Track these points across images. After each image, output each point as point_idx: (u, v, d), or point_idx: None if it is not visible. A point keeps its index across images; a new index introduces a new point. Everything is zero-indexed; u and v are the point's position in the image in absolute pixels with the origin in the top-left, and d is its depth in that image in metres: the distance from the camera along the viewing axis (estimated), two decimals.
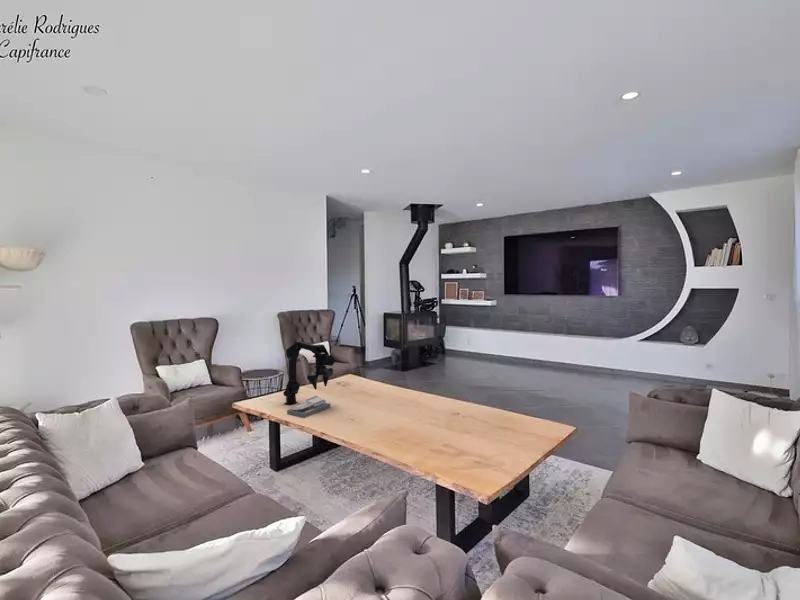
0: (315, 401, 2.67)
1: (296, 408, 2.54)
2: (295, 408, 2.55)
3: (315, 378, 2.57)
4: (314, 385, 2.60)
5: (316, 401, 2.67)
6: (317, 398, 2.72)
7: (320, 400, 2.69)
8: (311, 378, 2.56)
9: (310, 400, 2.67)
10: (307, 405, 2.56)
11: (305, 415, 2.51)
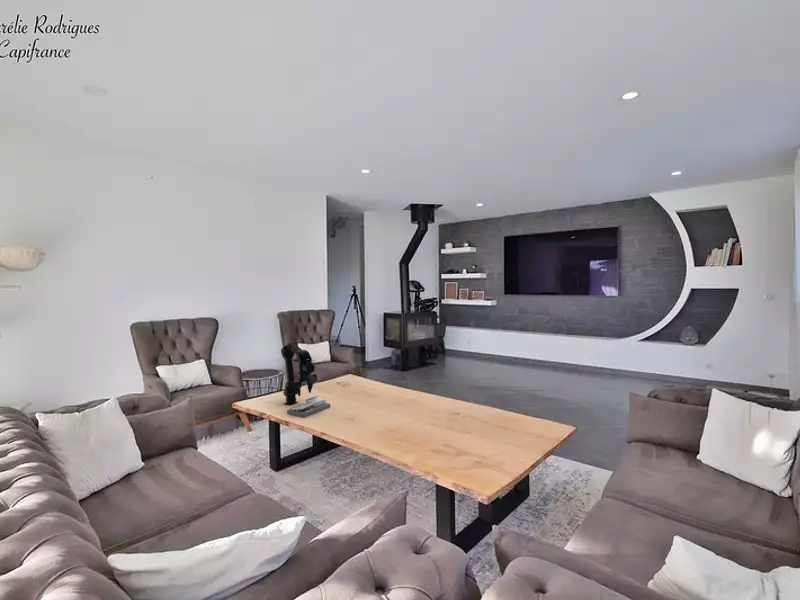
0: (315, 401, 2.67)
1: (296, 408, 2.54)
2: (295, 408, 2.55)
3: (299, 384, 2.54)
4: (298, 392, 2.57)
5: (316, 401, 2.67)
6: (317, 398, 2.72)
7: (320, 400, 2.69)
8: (295, 385, 2.53)
9: (310, 400, 2.67)
10: (307, 405, 2.56)
11: (305, 415, 2.51)
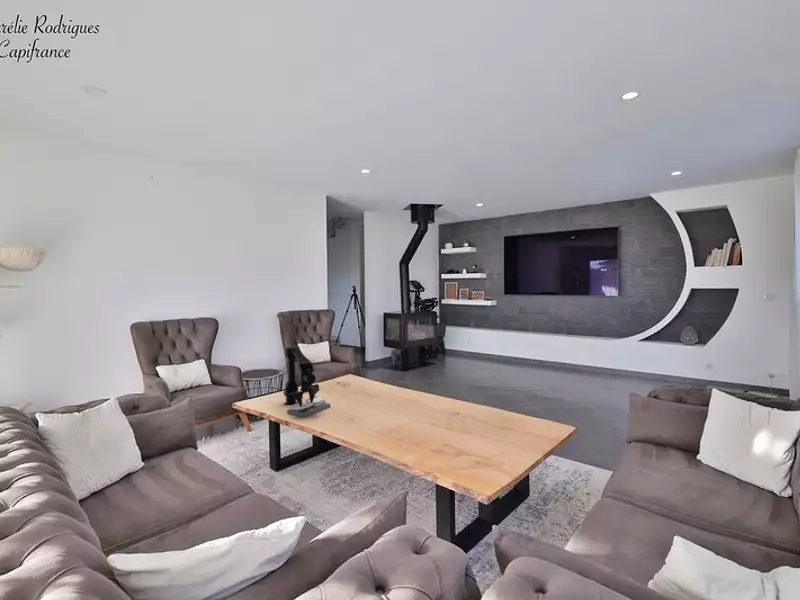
0: (315, 401, 2.67)
1: (296, 408, 2.54)
2: (295, 408, 2.55)
3: (300, 395, 2.48)
4: (299, 402, 2.52)
5: (316, 401, 2.67)
6: (317, 398, 2.72)
7: (320, 400, 2.69)
8: (296, 395, 2.48)
9: None
10: (307, 405, 2.56)
11: (305, 415, 2.51)
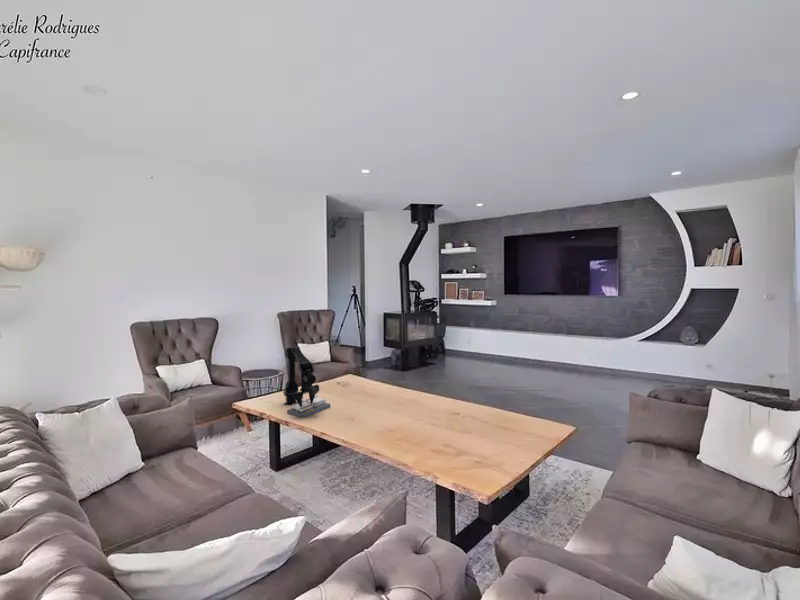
0: (315, 401, 2.67)
1: (296, 408, 2.54)
2: (295, 407, 2.55)
3: (300, 396, 2.48)
4: (299, 403, 2.52)
5: (316, 401, 2.67)
6: (317, 398, 2.72)
7: (320, 400, 2.69)
8: (296, 396, 2.48)
9: None
10: (307, 408, 2.57)
11: (305, 415, 2.51)
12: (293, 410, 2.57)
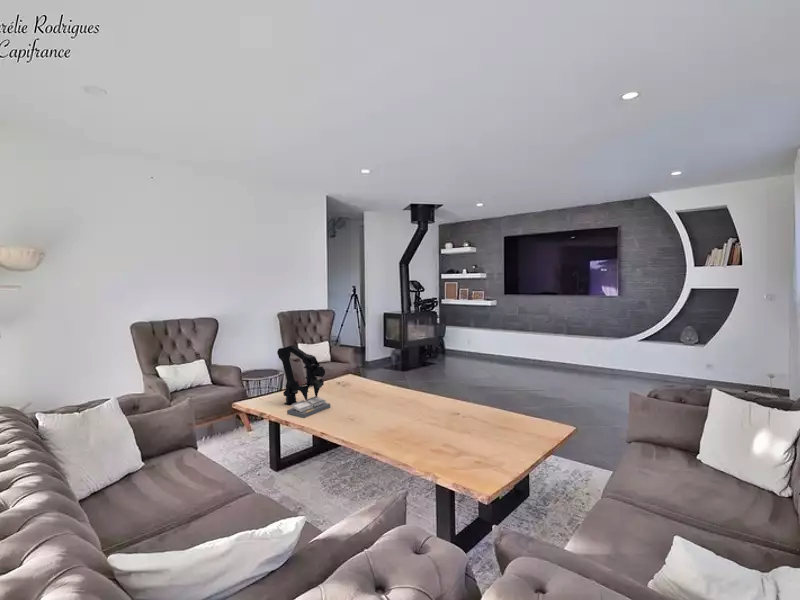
0: (315, 401, 2.67)
1: (296, 408, 2.54)
2: (295, 407, 2.55)
3: (306, 389, 2.62)
4: (305, 396, 2.66)
5: (316, 401, 2.67)
6: (317, 398, 2.72)
7: (320, 400, 2.69)
8: (302, 389, 2.62)
9: (310, 400, 2.67)
10: (307, 408, 2.57)
11: (305, 415, 2.51)
12: (293, 410, 2.57)
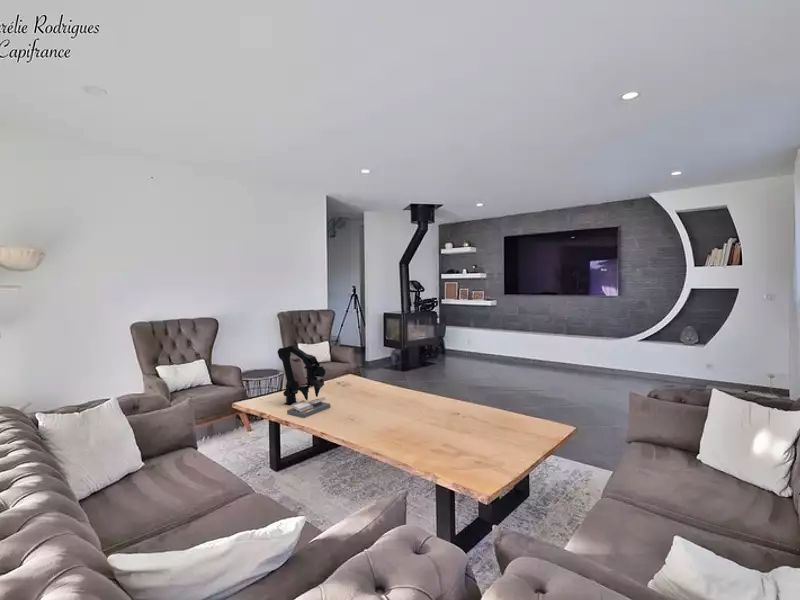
0: (314, 400, 2.67)
1: (296, 408, 2.54)
2: (295, 407, 2.55)
3: (306, 389, 2.62)
4: (305, 396, 2.66)
5: (315, 400, 2.67)
6: (317, 399, 2.72)
7: (319, 398, 2.70)
8: (302, 389, 2.62)
9: (310, 401, 2.67)
10: (307, 408, 2.57)
11: (305, 415, 2.51)
12: (293, 410, 2.57)
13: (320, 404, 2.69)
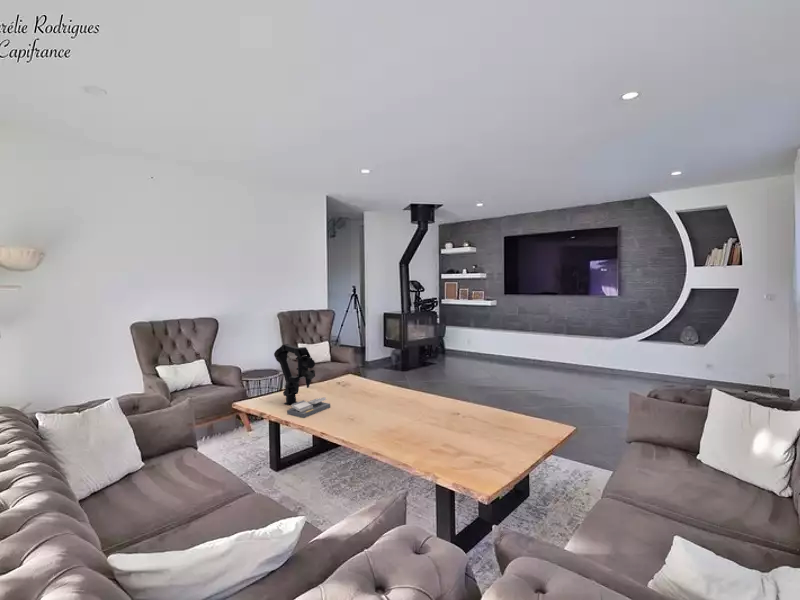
0: (315, 400, 2.67)
1: (296, 408, 2.54)
2: (295, 407, 2.55)
3: (297, 380, 2.63)
4: (296, 387, 2.66)
5: (316, 400, 2.67)
6: (317, 399, 2.72)
7: (319, 398, 2.70)
8: (293, 380, 2.62)
9: (310, 401, 2.67)
10: (307, 408, 2.57)
11: (305, 415, 2.51)
12: (293, 410, 2.57)
13: (320, 404, 2.69)
